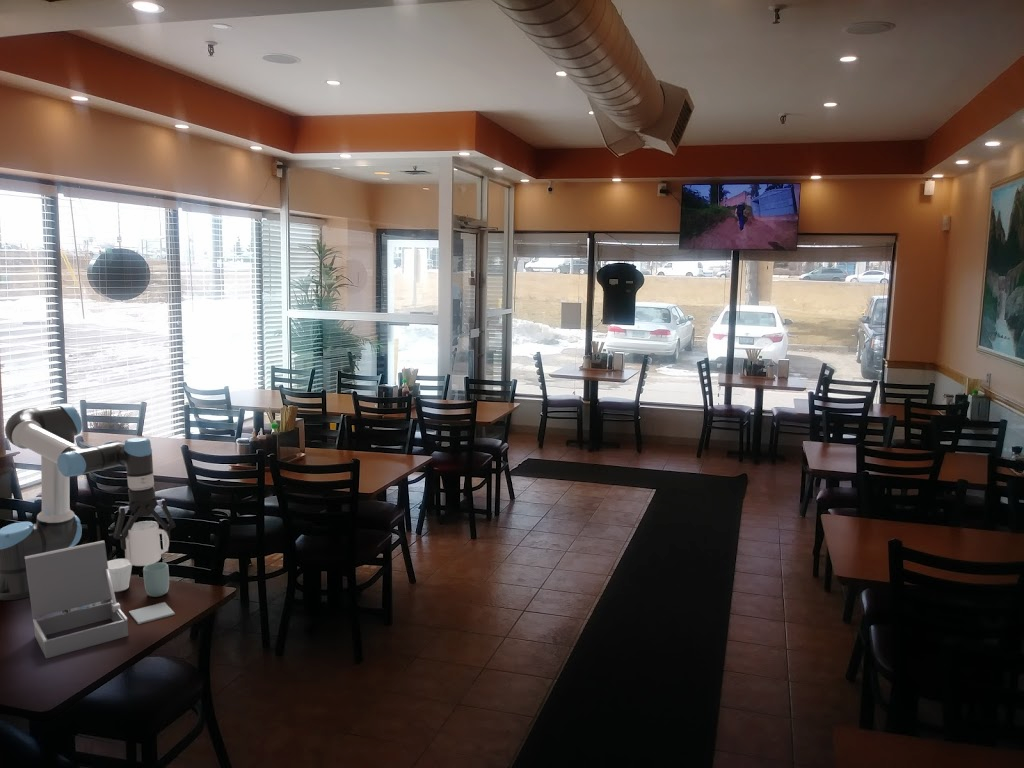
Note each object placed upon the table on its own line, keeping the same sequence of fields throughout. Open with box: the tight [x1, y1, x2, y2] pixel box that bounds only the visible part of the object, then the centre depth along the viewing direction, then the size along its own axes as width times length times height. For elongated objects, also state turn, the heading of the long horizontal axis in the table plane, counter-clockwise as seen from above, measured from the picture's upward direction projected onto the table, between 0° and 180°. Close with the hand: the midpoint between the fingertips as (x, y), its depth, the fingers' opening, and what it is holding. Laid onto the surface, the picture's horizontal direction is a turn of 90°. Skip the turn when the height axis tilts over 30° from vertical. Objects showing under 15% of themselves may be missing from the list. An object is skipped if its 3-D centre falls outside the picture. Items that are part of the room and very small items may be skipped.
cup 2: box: [142, 562, 170, 598], centre depth 276 cm, size 8×8×10 cm
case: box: [32, 569, 129, 659], centre depth 245 cm, size 20×23×16 cm
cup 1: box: [107, 558, 133, 593], centre depth 281 cm, size 10×10×9 cm
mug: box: [126, 520, 170, 567], centre depth 258 cm, size 10×12×12 cm
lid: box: [25, 540, 112, 619], centre depth 252 cm, size 19×22×1 cm
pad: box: [128, 601, 176, 625], centre depth 261 cm, size 11×11×1 cm
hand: (147, 554), depth 258 cm, fingers closed on mug, 11 cm apart
